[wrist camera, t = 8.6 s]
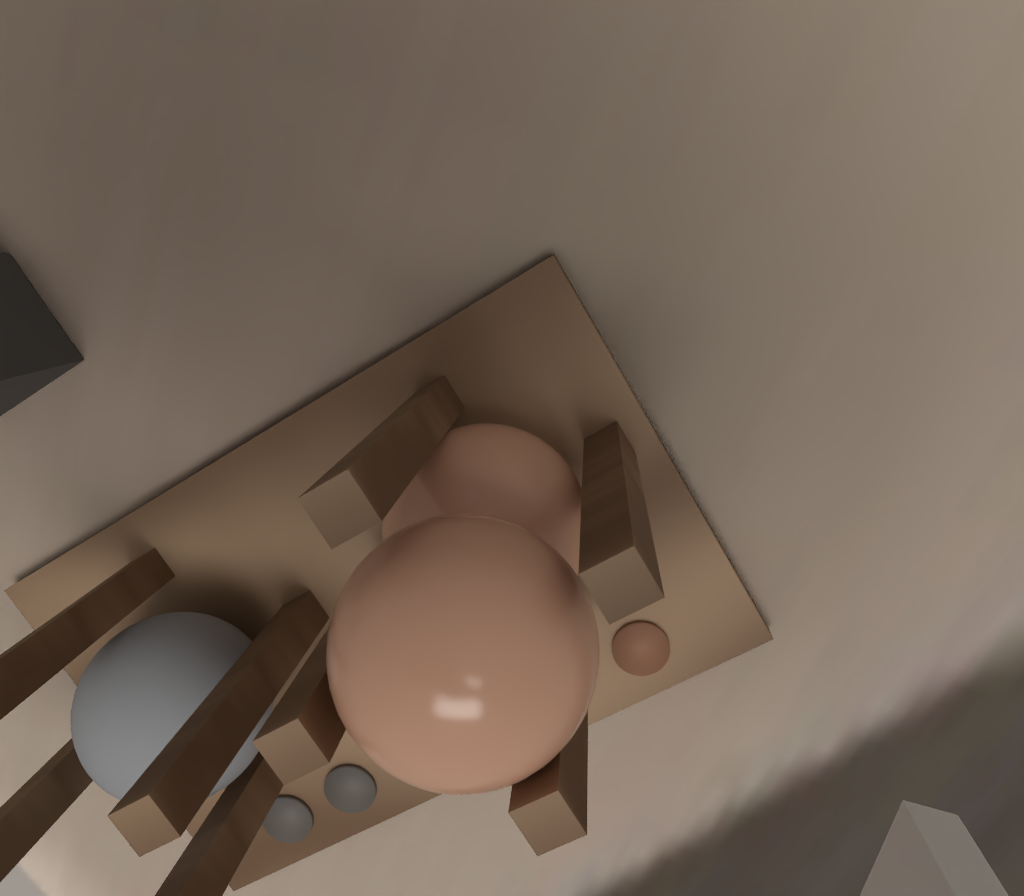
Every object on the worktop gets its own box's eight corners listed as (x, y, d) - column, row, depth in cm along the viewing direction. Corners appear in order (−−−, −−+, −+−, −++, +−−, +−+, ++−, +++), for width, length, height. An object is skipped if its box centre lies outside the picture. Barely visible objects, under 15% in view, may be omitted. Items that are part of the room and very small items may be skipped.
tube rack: (18, 582, 25) (-314, 783, 16) (554, 254, 21) (525, 270, 12) (241, 877, 27) (62, 1206, 18) (768, 628, 23) (884, 888, 14)
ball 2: (381, 468, 23) (310, 507, 18) (536, 378, 22) (506, 394, 17) (471, 622, 23) (426, 704, 18) (629, 541, 22) (626, 604, 17)
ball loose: (355, 443, 15) (329, 640, 11) (606, 480, 16) (667, 673, 12) (325, 632, 18) (296, 848, 14) (543, 653, 19) (576, 861, 15)
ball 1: (104, 628, 24) (-16, 725, 20) (235, 553, 23) (142, 635, 19) (200, 758, 25) (108, 882, 20) (331, 691, 24) (266, 804, 19)
